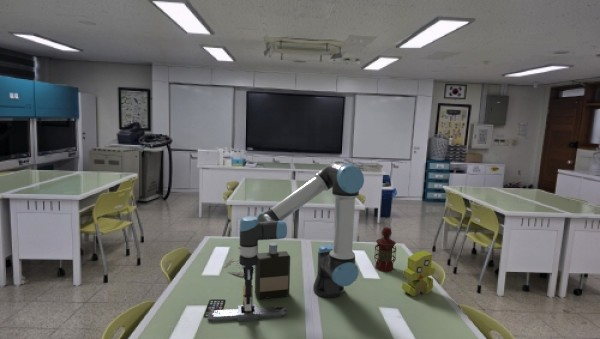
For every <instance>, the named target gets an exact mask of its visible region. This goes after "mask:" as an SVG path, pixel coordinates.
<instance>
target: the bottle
mask: <svg viewBox="0 0 600 339" xmlns="http://www.w3.org/2000/svg"><path fill="white" fill-rule="evenodd" d="M257 255H258V262H257V264H256V265H255V269H254V271H255V274H254V295H255V297H256V298H257V300H264V299H265V300H266V299H274V298H282V297H289V295H290V289H291V288H290V285H291V284H290V282H291V280H290V279H291V278H290V277H291V256H290V254H289V253H288V251H287V250H285V251H283V250H282V251H278V243H276V242H270V243H268V252H258V254H257Z"/></svg>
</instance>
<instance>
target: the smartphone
mask: <svg viewBox="0 0 600 339" xmlns="http://www.w3.org/2000/svg"><path fill="white" fill-rule="evenodd" d="M225 305H226V299H221V298H219V299H215V298H214V299H209V300H208V302H207V306H206V309H205V311H204V313H203V318H207V319H208V313H209V312H210V311H213V310H224V309H225Z"/></svg>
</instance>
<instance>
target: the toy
mask: <svg viewBox="0 0 600 339" xmlns="http://www.w3.org/2000/svg"><path fill="white" fill-rule="evenodd" d="M432 261H433V253H431V252H429V251H427V250H424V249H423V250H421V251H417V252H414V253H412V254H411V255H409V256H408V257H407V268H405V269H404V270H403V277H404V278H406V279H408V282H407V283H406V282H402V284H401V289H402V290H403V291H404V292H406V293H407V294H409V295H410V296H412V297H416V296H419V295H420V293H421V294H428V293H430V292H431V291H432V289H434V279H433V278H431V277H430V276H434V275H435V271H436V267H434V266H432Z"/></svg>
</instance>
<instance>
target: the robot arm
mask: <svg viewBox="0 0 600 339" xmlns="http://www.w3.org/2000/svg"><path fill="white" fill-rule="evenodd" d="M364 183H365V176H364V174H363V171H362V170H361V169H360V168H359V167H357V166H356V165H355V164H351V163H347V162H344V161H334V162H330V163H329V164H327V165H326V166H324V167H323V168H322V169H320V170H318V171H317V172H316V173H315V174H314V177H313V178H312V179H310V180H308V181H307V182H305V183H304V184H303V185H302V186H300V187H299V188H297V189H295V190H294V192H292V193H290V194H289V195H288V196H286V197H285V198H284V199H282V200H281V201H279V202H278V203H276V204H275V205H274V206H272V207H271V208H270V209H268V210H267V211H261V212H259V213H258V214H257V216H256V217H255V216H244V217H241V219H240V221H239V222H240V223H239V246H237V249H238V250H239V258H238V260H239V262H238V263H239V265H240V266H245V267H244V269H243V273H244V276H243V278H244V279H243V280H244V285H245V295H243V294H242V298H243V297H245V311H251V297H252V286H253V283H252V282H253V277H254V276H253V275H254V273H253V271H254V269H253V266H254V265H256V264H257V262H258V255H257V254H258V253H259V241H267V240H268V241H269V240H283V239H285V238H286V237H287V235H288V227H287V226H288V225H287V223H286V221H285V219H286V218H288V217H289V216H291V215H292V214H293V213H295V212H296V211H298V210H299V209H300V208H301V207H303V206H305V205H306V204H308V202H310V201H311V200H313V199H314V198H316V197H317V196H318V195H320V194H321V193H323V192H324V191H325V192H326V191H327V192H328V191H329V190H330V189H331V190H332V192H331V193H332V195H333V196H334V200H335V201H334V202H335V204H334V220H333V224H334V225H333V243H332V244H331V243H328V244H322V245H320V246H318V251H317V272H316V273H317V274H316V278H315V280H314V283H313V287H312V289H313V290H312V291H313V292H314V294H316V295H317V296H320V297H323V298H327V299H328V298H329V299H332V298H339V297H341V296H342V295H344V294H345V293H344V292H345V287H348V286H351V285H352V284H354V282H356V281H357V279H358V276H359V269H358V266H357V265H356V264H355V263H356V253H355V252H354V251H353V242H354V241H353V239H354V225H355V224H354V223H355V206H356V204H355V203H356V199H357V198H358V197H359V194H360V191H361V189H362V188H363V186H364Z"/></svg>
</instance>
